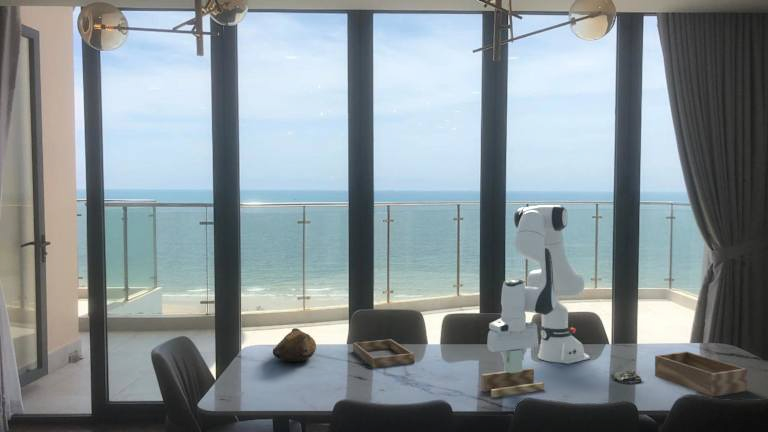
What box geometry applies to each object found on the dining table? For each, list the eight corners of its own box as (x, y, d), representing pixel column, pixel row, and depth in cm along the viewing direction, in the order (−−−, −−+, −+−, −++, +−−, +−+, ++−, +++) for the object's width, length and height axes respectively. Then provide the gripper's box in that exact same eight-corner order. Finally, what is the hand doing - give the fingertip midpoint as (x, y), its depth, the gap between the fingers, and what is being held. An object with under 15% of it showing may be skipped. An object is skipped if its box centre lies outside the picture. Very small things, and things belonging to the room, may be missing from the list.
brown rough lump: (306, 372, 233) (306, 336, 233) (262, 371, 235) (262, 335, 234) (324, 348, 270) (324, 317, 269) (286, 348, 272) (286, 316, 271)
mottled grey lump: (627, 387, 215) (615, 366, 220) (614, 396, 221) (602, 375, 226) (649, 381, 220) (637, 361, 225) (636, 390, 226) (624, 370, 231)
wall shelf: (531, 383, 219) (531, 367, 219) (544, 389, 212) (544, 373, 211) (481, 390, 211) (481, 374, 211) (492, 397, 204) (493, 380, 203)
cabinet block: (515, 368, 214) (516, 343, 213) (522, 371, 210) (522, 346, 210) (504, 370, 212) (504, 344, 212) (510, 373, 208) (510, 347, 208)
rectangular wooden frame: (391, 347, 272) (391, 339, 272) (414, 362, 247) (414, 353, 246) (353, 351, 265) (353, 343, 265) (373, 367, 240) (373, 358, 240)
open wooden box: (686, 370, 234) (686, 351, 234) (746, 390, 210) (747, 369, 210) (654, 375, 228) (655, 355, 228) (713, 396, 204) (713, 374, 204)
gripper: (531, 319, 217) (531, 356, 217) (485, 324, 210) (485, 361, 210) (542, 323, 211) (541, 360, 212) (494, 328, 204) (494, 366, 204)
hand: (513, 361), depth 211 cm, fingers closed on cabinet block, 5 cm apart
